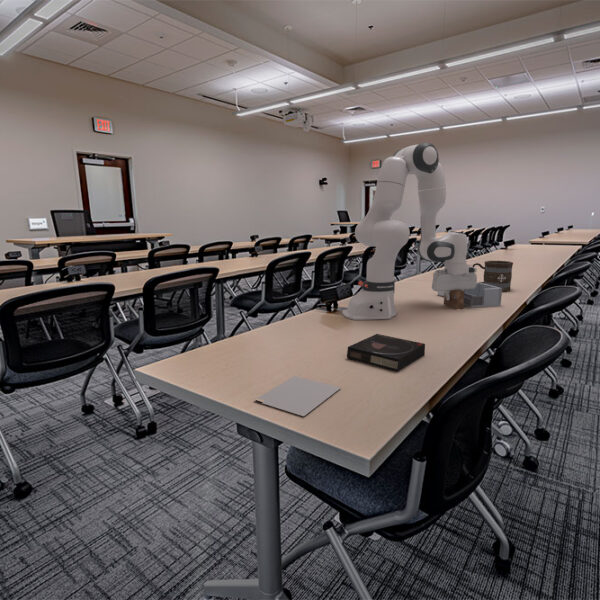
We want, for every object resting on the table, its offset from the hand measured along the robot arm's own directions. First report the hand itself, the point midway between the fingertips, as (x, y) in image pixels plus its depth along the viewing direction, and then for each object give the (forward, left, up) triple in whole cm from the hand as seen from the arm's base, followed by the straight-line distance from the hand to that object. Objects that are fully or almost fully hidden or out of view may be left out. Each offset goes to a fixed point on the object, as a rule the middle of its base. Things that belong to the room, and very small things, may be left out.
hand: (453, 299), depth 179 cm
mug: (+41, +29, -4) cm, 50 cm away
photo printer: (+10, +20, -4) cm, 23 cm away
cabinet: (+13, +3, -3) cm, 14 cm away
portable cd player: (-55, -50, -4) cm, 75 cm away
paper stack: (-86, -62, -4) cm, 106 cm away
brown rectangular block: (0, 0, -3) cm, 3 cm away
